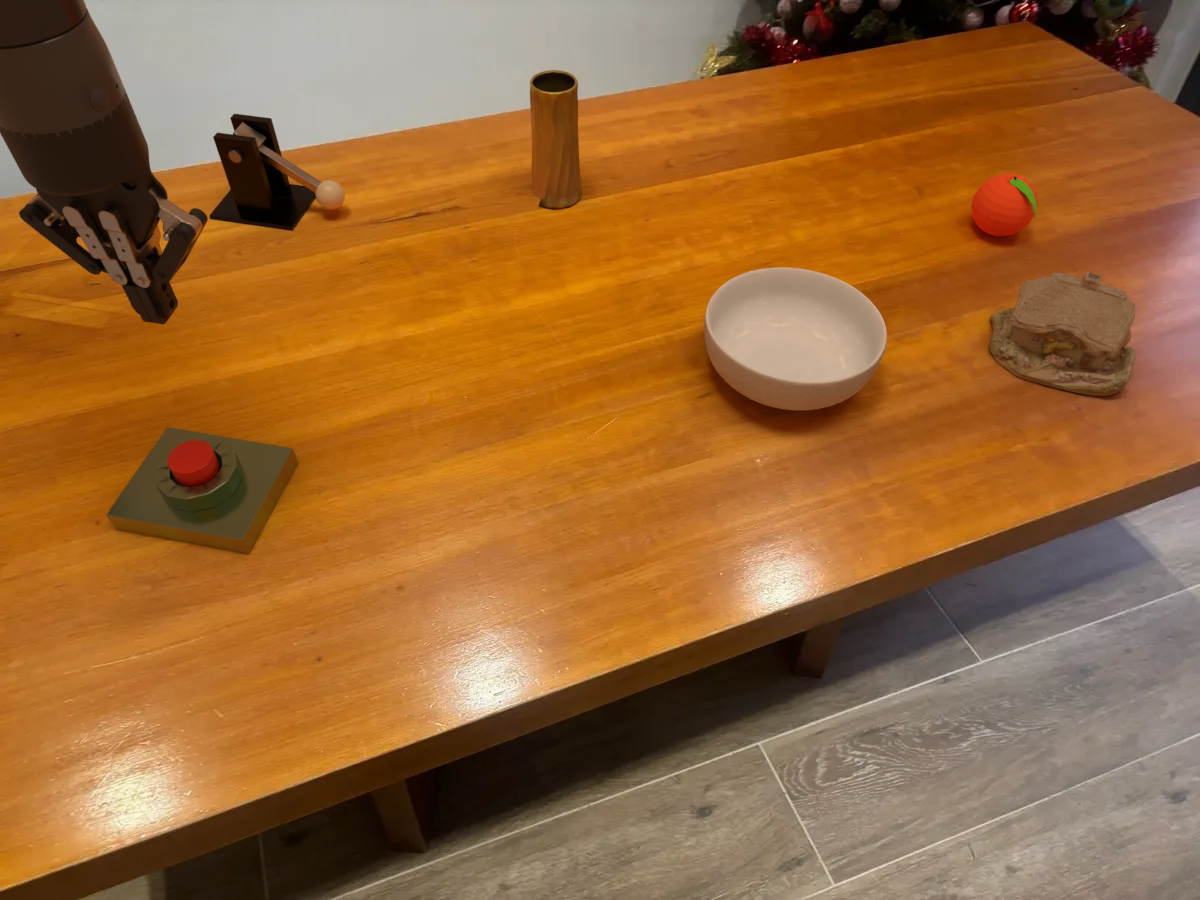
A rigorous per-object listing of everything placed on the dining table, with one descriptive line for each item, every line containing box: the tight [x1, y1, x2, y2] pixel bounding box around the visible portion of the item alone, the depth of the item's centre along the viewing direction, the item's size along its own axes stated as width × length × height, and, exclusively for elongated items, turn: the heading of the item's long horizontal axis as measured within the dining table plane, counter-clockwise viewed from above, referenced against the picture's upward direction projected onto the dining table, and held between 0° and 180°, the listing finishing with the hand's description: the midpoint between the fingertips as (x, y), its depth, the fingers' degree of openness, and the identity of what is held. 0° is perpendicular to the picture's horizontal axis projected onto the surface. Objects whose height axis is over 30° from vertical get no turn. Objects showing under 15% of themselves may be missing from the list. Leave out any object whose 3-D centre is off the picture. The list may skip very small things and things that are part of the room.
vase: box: [529, 69, 583, 209], centre depth 103 cm, size 6×6×14 cm
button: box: [167, 440, 219, 486], centre depth 75 cm, size 4×4×2 cm
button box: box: [106, 426, 299, 555], centre depth 77 cm, size 12×10×4 cm
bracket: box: [208, 113, 317, 232], centre depth 101 cm, size 10×8×11 cm
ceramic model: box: [989, 271, 1137, 397], centre depth 88 cm, size 14×11×10 cm
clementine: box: [971, 173, 1038, 237], centre depth 103 cm, size 8×7×7 cm
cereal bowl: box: [703, 266, 888, 412], centre depth 87 cm, size 17×17×7 cm
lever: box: [232, 122, 346, 211], centre depth 100 cm, size 13×3×3 cm
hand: (160, 315), depth 67 cm, fingers closed
